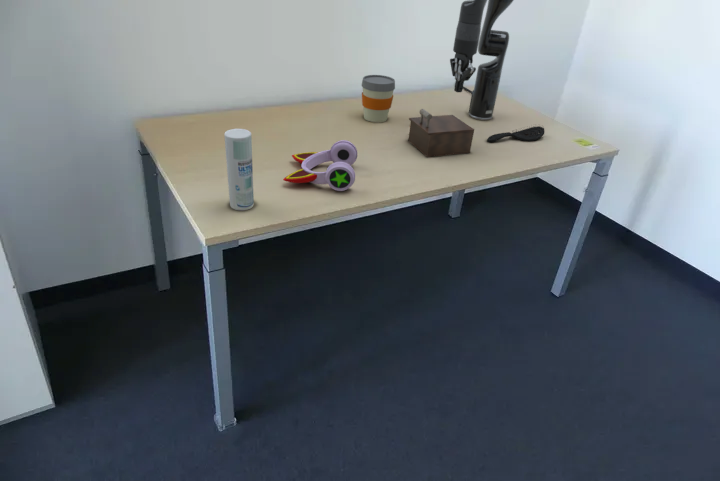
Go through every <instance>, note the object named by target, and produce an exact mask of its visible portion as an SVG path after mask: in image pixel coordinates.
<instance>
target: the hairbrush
mask: <svg viewBox="0 0 720 481" xmlns="http://www.w3.org/2000/svg"><path fill="white" fill-rule="evenodd" d="M545 133H546V132H545V127H544V126H541V125H537V126H534V125H532V126H530V125H529V126H526V127H524V128H523V129H522V127H520V128H519V130H518V129H516V128H515V131H514V130H511V132H510V131H508V132H507V131H506V132H500V133H494V134H492V135H489V137H488V138H487V139H486V142H487V143H494V142H497V141H500V140H502V139H504V138H508V137H512V138H515V139H517V140H520V141H523V142H535V141H537V140H539V139H541V138H542V137H543V136H544V135H545Z"/></svg>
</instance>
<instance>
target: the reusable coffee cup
mask: <svg viewBox="0 0 720 481" xmlns="http://www.w3.org/2000/svg"><path fill="white" fill-rule="evenodd" d="M361 87H362V92H361V104H362V107H363V119H364V120H366V121H368V122H371V123H384V122H386V121H388V116H389V112H390V109H391V108H392V104H393V99H394V90H395V89H396V80H395V79H394V78H393V77H390V76H387V75H382V74H368V75H364V76H363V77H362V81H361Z"/></svg>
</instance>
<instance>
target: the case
mask: <svg viewBox="0 0 720 481" xmlns="http://www.w3.org/2000/svg"><path fill="white" fill-rule="evenodd" d="M474 133H475V130H474V131H471V132H459V133H447V134H435V135H428V134H426V133H425V132H424V131H422V130H421V129H420V128H419V127H417V126H416V125H415V124H414V123H412V122H411V121H410V123H409V131H408V139H407V141H408V142H409V143H410V144H411V145H412V146H414V147H415V148H416V149H417V150H418V151H419V152H421V153H422V154H423V155H424V156H425V157H426V158H432V157H434V158H435V157H441V156H442V157H443V156H454V155H463V154H470V153H471V149H472V143H473V138H474Z"/></svg>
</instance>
